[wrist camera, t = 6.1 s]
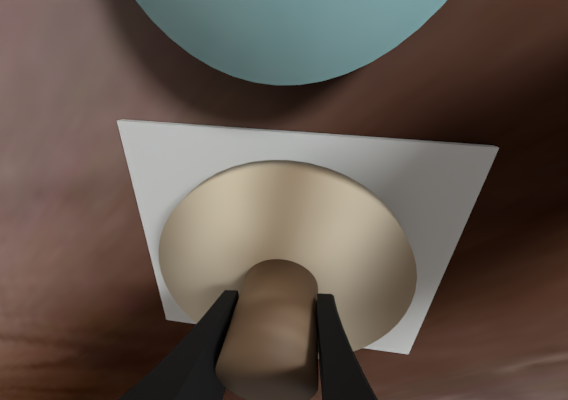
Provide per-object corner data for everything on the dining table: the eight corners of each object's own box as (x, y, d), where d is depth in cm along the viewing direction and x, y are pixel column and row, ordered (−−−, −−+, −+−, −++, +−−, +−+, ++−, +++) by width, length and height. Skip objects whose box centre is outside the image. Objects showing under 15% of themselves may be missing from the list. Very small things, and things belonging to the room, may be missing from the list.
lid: (432, 152, 9) (538, 237, 5) (393, 348, 15) (424, 468, 10) (133, 166, 11) (9, 236, 6) (201, 337, 16) (160, 435, 12)
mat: (493, 145, 11) (499, 147, 10) (406, 348, 17) (408, 354, 17) (122, 119, 12) (116, 120, 12) (169, 315, 19) (166, 319, 18)
